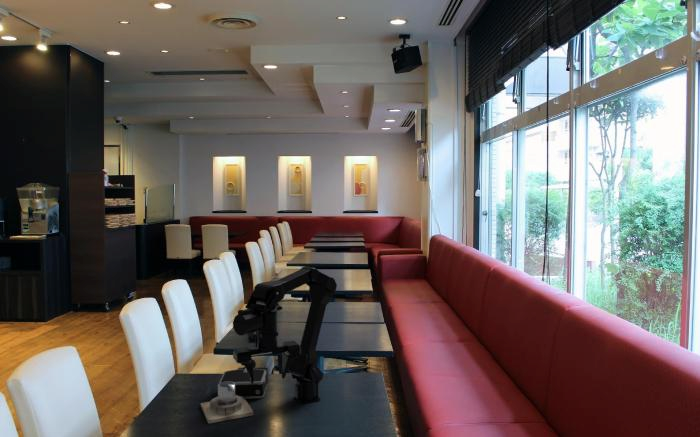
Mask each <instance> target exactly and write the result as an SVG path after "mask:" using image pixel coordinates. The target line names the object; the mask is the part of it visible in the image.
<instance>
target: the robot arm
mask: <svg viewBox="0 0 700 437" xmlns="http://www.w3.org/2000/svg"><path fill="white" fill-rule="evenodd" d="M303 285H306V286H307V287H309V288H308V295H309V298H310V299H309V300H310V306H309V309H308V313H307V317H306V321H305V326H304V330H303V333H302V337H301V340H300V341H301V342H300V344H299V343H297V342H296V341H295V340H289V341H283V342H282V345H278V337H279V332H278V311H282V310H283V307H282V305H280V304H279V303H280V302H282V300H284V299H285V296H286V295H287V294H288V293H290V292H292V291H294V290H296V289H298V288H299V287H302V286H303ZM337 288H338V287H337V282H336V279H335V278H334V277H330V276H329V275H327V274H325V273H323V272H321V271H320V270H318V269H317V268H316V267H312V266H311V267H310V266H304V267H301V268H300V269H298V270H296V271H293V272H291V273H290V274H288V275H285V276H284V277H281V278H279V279H277V280H273V281H272V280H271V281H264V282H259V283H257V284H256V285H255V286H254V287H253V291H252V292H251V295H250V297H249V299H248V301H247V302H246V304H245V308H244V309H238V310H237V315H235V316H234V318H233V321H232V328H233V330H234V332H235V333H236V334H237V335H238V336H245V335H246V336H245V337H246V338H245V339H246V344H248V345H249V344H252V345H253V347H254V348H256V349H249V348H248V347H247V346H243V347H236V348H234V349H233V351H232V358H233V360H234V361H235V362H236V363H237V364H240V365H241V367H245V368H246V370H247V373H248V375H249V378H250V381H251V383H252V384H253V381H254V377H253V363H252V362H251V359H252V358H253V357H261V356H262V357H263V356H266V355H267V356H268V355H275V354H281V357H282V358H281V359H282V360H281V378H282V379H285V377H286V375H287V373H288V370H289V371H290V374H291V378H292V379H293V380H295V381H296V383H295V384H294V398H296V400H297V401H298V402H299V403H300V404H307V403H311V402H312V403H313V402H318V401H320V400H321V397H319V383H320V382H321V381H323V379H324V378H323V377H324V373H323V371H322V370H321V369H320V368H319V367H318V363H319V359H318V354H317V351H316V349H317V345H318V341H319V338H320V337H319V336H320V332H321V329H322V325H323V320H324V316H325V312H326V308H327V305H328V304H329V303H330V302H331V301H332V300H333V298H334V295H335V294H336V291H337Z"/></svg>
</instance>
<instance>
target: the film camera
mask: <svg viewBox="0 0 700 437" xmlns="http://www.w3.org/2000/svg"><path fill="white" fill-rule="evenodd" d="M251 358H252V359H251V362H252V363H253V377H254V381H253V384H252V383H251V381H250V378H249V375H248V373H247V370H246V368H245V366H239V367H238V368H237V369H231V370H226V371H224V372H223V373H222V376H221V378H220V380H219V381H218V384H219V383H221V382H226V381H231V382H234V383H235V395H238V396H243V397H244V398H245V400H246V399H262V398H264V396H265V393H266V391H267V387H268V383H269V370H268V368H267V367H257V360H256V359H255V358H253V357H251Z"/></svg>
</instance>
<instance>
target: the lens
mask: <svg viewBox="0 0 700 437" xmlns="http://www.w3.org/2000/svg"><path fill="white" fill-rule="evenodd" d="M217 397H218V405H224V406H226V405H232V404H234V403H235V383H234V382H231V381H226V382H221V383H219V382H218V384H217Z"/></svg>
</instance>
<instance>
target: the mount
mask: <svg viewBox="0 0 700 437" xmlns="http://www.w3.org/2000/svg"><path fill="white" fill-rule="evenodd" d="M200 408H201V410H202V412H203V414H204V417H205V419H206V422H207V424H213V423H215V424H216V423H219V422H224V421H230V420H234V419H235V420H236V419H241V418H246V417H251V416H254V414H255V413H254V410H253V409H252V407H251V406H250V404H249V403H248V401H247V400H246V399H245V398H244V397H243V396H238V395H235V403H234V404H232V405H226V406H224V405H218V396H216V397H213V398H212V399H211V400H210V401H205V402H201V403H200Z"/></svg>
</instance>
